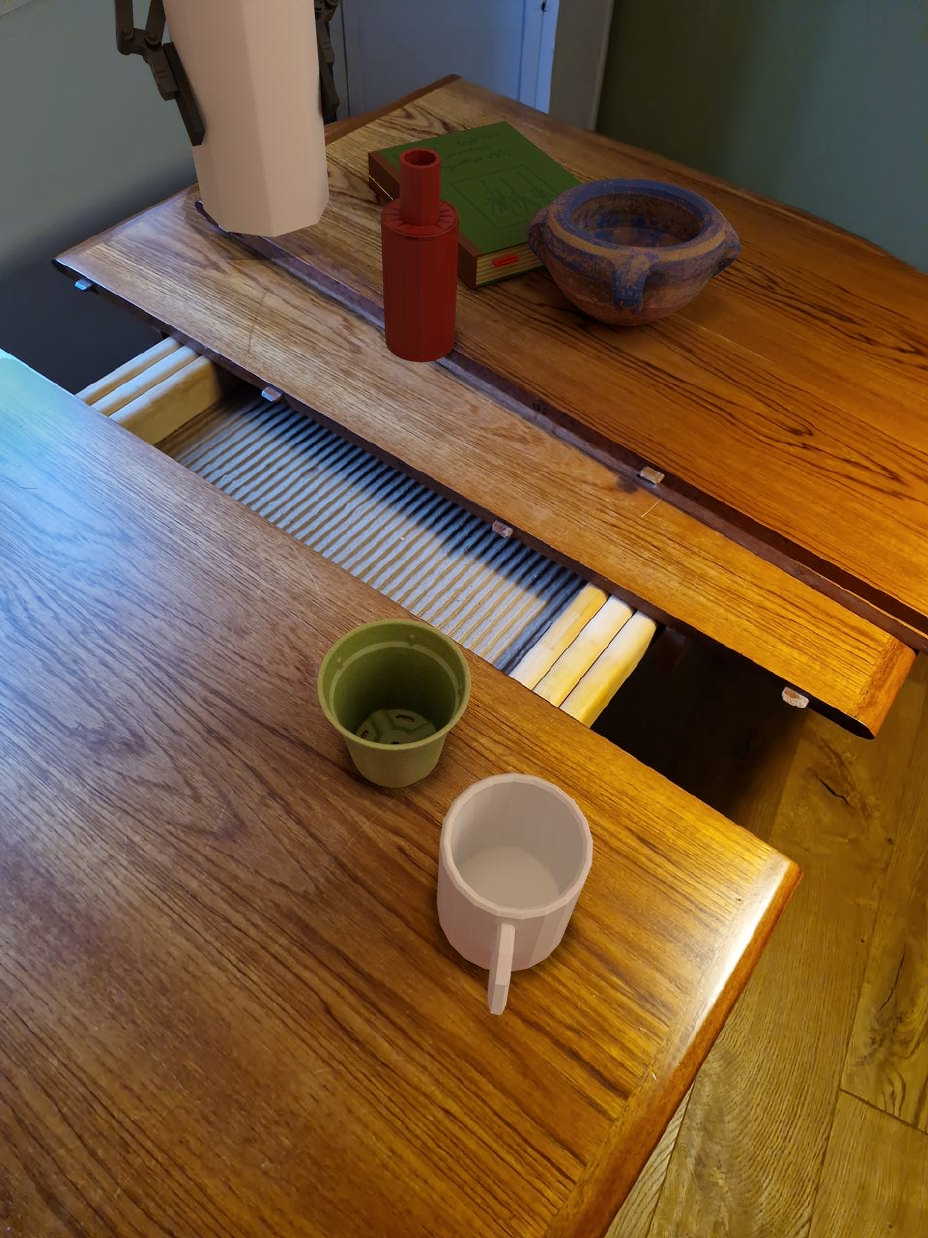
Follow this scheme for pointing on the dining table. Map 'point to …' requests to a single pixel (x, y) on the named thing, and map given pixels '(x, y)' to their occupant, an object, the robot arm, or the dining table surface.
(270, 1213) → the dining table surface
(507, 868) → the mug
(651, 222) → the bowl
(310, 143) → the cup
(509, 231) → the book
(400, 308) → the sauce bottle
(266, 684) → the dining table surface
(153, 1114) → the dining table surface
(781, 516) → the dining table surface
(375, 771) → the plant pot
